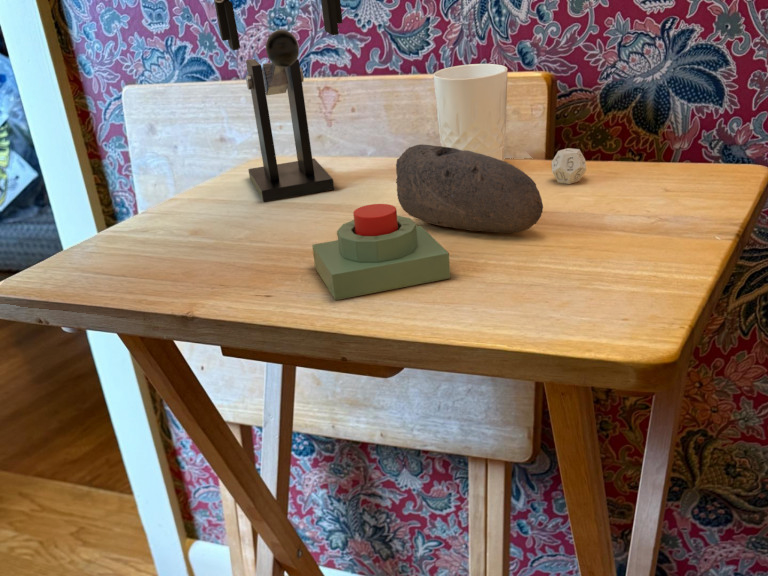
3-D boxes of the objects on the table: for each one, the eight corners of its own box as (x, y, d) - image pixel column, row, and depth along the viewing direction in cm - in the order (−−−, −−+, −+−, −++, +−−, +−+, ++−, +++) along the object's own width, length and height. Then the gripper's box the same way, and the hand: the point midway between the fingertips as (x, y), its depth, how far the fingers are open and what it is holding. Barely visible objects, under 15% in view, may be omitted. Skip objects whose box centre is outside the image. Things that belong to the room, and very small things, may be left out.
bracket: (334, 189, 98) (318, 61, 91) (263, 202, 97) (241, 72, 89) (315, 168, 106) (299, 48, 99) (250, 179, 105) (228, 58, 97)
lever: (303, 58, 86) (296, 22, 85) (271, 62, 85) (263, 26, 84) (291, 96, 97) (284, 64, 96) (262, 100, 96) (255, 68, 96)
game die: (567, 188, 92) (568, 157, 90) (543, 181, 94) (544, 151, 93) (593, 180, 93) (594, 150, 92) (569, 173, 96) (569, 144, 94)
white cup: (518, 160, 102) (517, 63, 96) (494, 180, 96) (492, 78, 90) (454, 158, 105) (450, 63, 99) (427, 177, 99) (421, 79, 93)
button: (361, 241, 73) (359, 220, 72) (351, 228, 76) (348, 208, 75) (403, 233, 74) (401, 212, 73) (391, 221, 77) (389, 201, 76)
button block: (335, 300, 73) (328, 252, 71) (315, 269, 79) (308, 223, 77) (450, 278, 75) (448, 231, 72) (422, 249, 81) (419, 204, 79)
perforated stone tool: (556, 230, 82) (557, 151, 78) (525, 249, 79) (525, 167, 75) (426, 210, 90) (422, 137, 86) (394, 226, 87) (387, 151, 83)
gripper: (150, -178, 71) (199, 60, 82) (357, -199, 74) (379, 32, 85) (145, -172, 77) (191, 48, 88) (337, -193, 80) (360, 23, 91)
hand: (283, 40), depth 86 cm, fingers open, 9 cm apart
